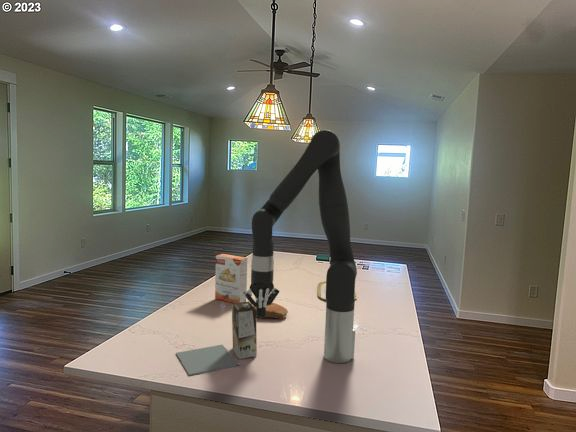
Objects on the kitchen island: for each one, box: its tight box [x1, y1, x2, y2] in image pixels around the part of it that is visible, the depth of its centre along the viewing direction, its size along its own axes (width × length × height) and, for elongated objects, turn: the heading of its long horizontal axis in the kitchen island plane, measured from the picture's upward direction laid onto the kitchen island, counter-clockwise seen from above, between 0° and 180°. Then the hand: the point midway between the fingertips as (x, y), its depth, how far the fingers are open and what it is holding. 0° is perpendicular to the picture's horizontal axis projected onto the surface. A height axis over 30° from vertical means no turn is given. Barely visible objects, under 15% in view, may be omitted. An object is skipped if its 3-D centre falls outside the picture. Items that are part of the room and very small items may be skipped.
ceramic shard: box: [252, 302, 289, 320], centre depth 177 cm, size 15×6×15 cm
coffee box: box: [231, 301, 258, 360], centre depth 141 cm, size 9×6×16 cm
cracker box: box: [214, 253, 248, 304], centre depth 194 cm, size 14×6×21 cm, turn 62°
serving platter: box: [317, 280, 357, 301], centre depth 214 cm, size 19×35×2 cm, turn 176°
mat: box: [175, 344, 240, 377], centre depth 136 cm, size 16×16×1 cm
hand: (260, 317), depth 144 cm, fingers closed
